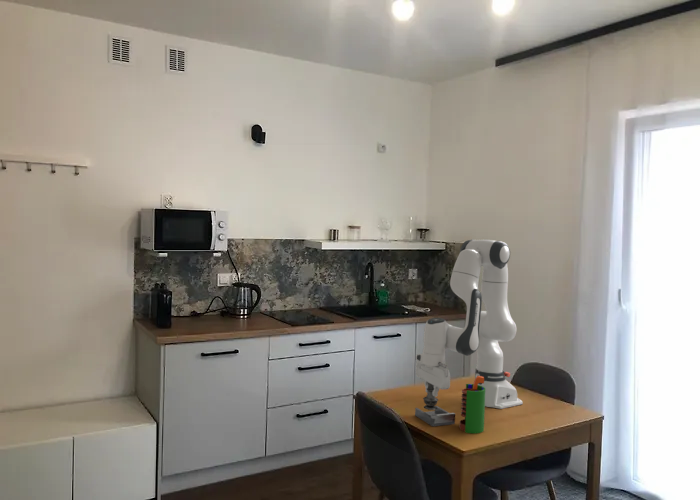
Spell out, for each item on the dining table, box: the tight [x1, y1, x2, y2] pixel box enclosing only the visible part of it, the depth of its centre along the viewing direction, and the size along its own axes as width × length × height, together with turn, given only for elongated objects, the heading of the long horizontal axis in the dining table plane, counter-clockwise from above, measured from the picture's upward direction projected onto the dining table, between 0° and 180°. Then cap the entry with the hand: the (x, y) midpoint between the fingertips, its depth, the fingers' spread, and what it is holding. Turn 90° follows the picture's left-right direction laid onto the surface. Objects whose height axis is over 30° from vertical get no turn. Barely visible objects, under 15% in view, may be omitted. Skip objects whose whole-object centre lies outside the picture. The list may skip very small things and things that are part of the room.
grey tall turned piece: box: [423, 383, 439, 411], centre depth 228 cm, size 6×6×12 cm
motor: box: [459, 376, 486, 434], centre depth 217 cm, size 10×9×20 cm
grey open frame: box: [414, 405, 456, 427], centre depth 226 cm, size 13×10×4 cm
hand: (431, 394), depth 228 cm, fingers closed on grey tall turned piece, 3 cm apart
